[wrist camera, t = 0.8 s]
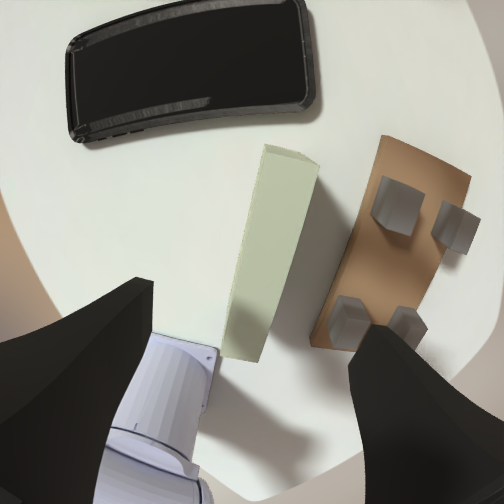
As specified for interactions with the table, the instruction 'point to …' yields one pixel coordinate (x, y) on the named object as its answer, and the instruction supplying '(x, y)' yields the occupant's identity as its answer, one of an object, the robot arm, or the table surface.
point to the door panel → (267, 249)
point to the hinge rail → (396, 247)
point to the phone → (189, 66)
